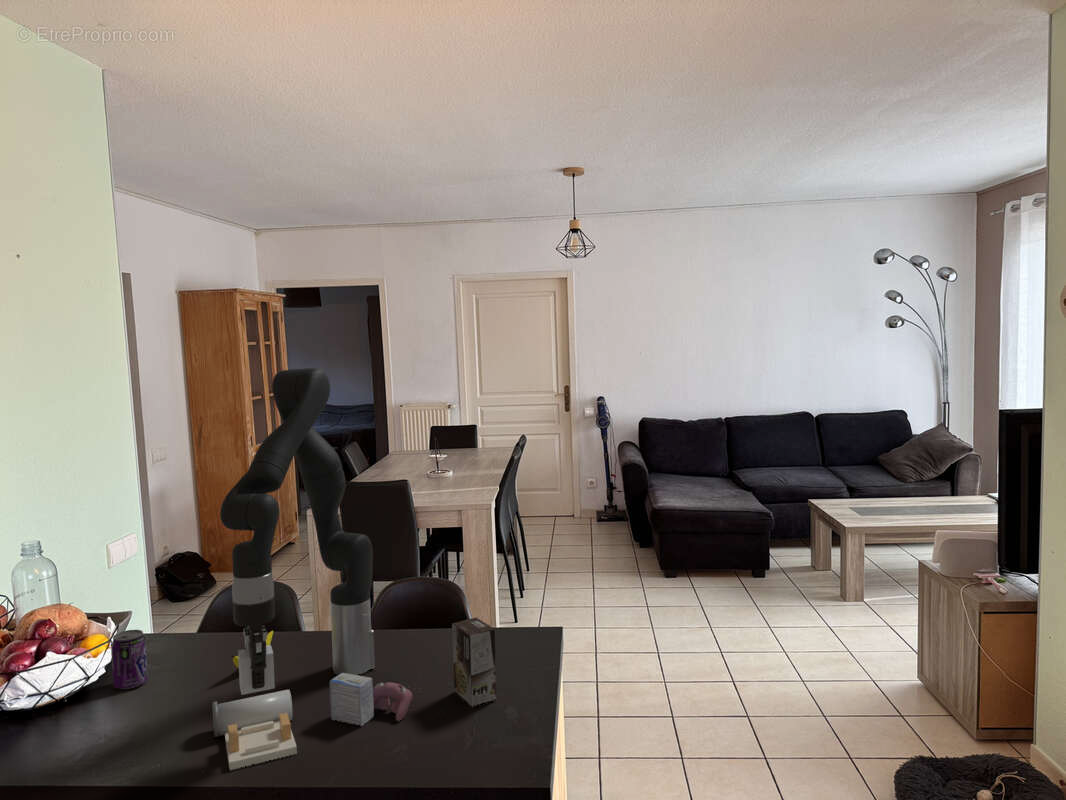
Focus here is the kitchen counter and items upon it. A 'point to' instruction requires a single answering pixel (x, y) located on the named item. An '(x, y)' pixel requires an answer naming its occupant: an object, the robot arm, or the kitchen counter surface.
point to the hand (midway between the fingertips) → (257, 681)
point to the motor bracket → (256, 728)
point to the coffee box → (474, 661)
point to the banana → (268, 641)
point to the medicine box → (351, 699)
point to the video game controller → (393, 691)
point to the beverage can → (129, 659)
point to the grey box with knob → (246, 672)
